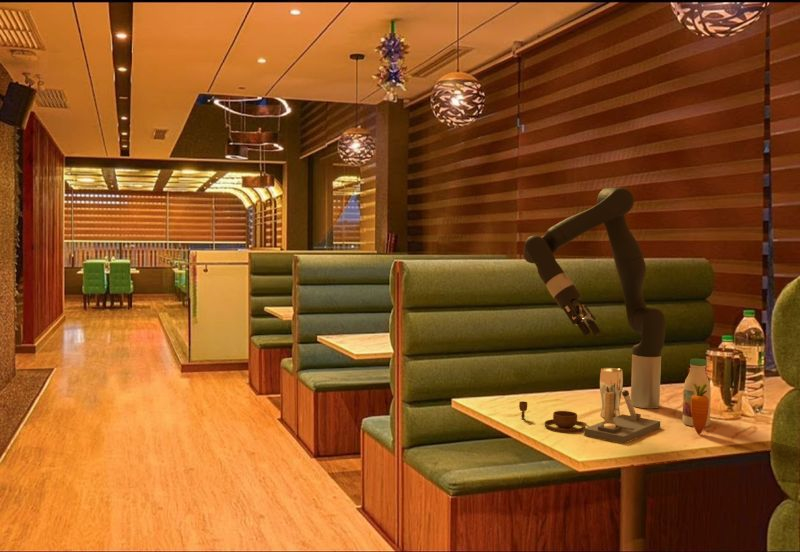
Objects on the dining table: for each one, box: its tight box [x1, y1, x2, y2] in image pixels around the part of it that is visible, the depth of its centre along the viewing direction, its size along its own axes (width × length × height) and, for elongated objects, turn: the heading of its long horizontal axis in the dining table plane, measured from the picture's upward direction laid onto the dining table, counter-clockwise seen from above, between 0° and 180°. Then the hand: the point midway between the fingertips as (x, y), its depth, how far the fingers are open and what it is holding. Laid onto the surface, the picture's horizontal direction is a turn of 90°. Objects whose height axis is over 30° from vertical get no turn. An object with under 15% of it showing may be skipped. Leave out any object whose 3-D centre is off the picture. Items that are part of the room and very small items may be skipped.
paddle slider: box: [602, 392, 615, 424], centre depth 214 cm, size 3×2×9 cm
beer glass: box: [599, 367, 624, 419], centre depth 232 cm, size 7×7×15 cm
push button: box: [604, 423, 616, 429], centre depth 209 cm, size 3×3×1 cm
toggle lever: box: [621, 389, 637, 416], centre depth 222 cm, size 2×2×9 cm
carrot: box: [691, 383, 709, 435], centre depth 213 cm, size 5×5×15 cm
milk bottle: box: [682, 357, 712, 428], centre depth 224 cm, size 8×8×20 cm
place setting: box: [518, 401, 591, 433], centre depth 223 cm, size 18×20×6 cm
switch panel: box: [583, 412, 661, 445], centre depth 215 cm, size 24×12×4 cm, turn 137°
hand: (593, 334), depth 224 cm, fingers open, 8 cm apart
